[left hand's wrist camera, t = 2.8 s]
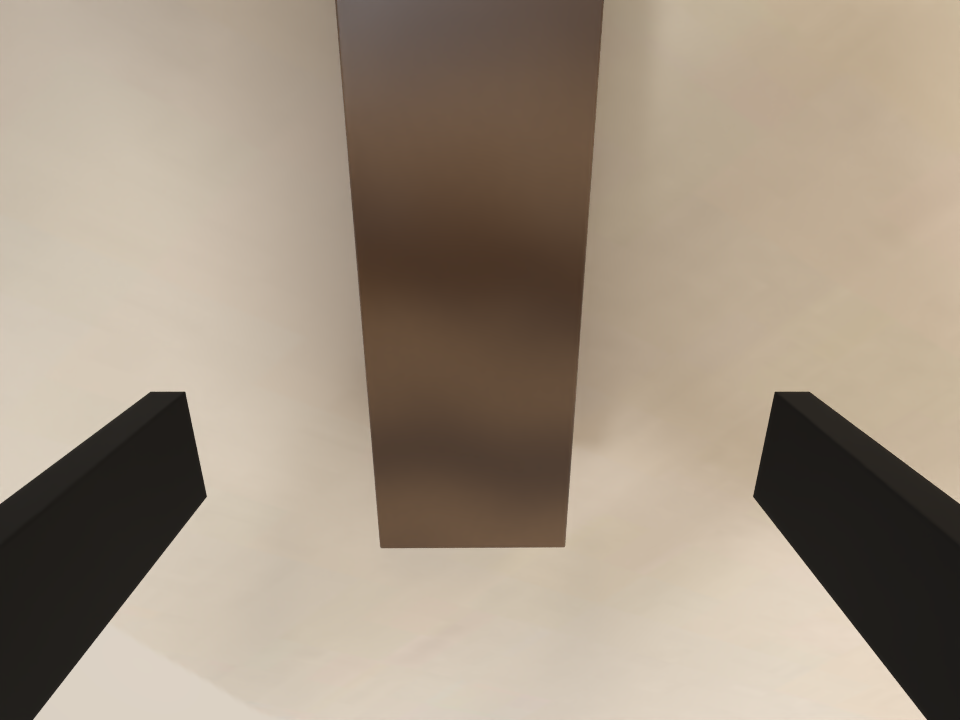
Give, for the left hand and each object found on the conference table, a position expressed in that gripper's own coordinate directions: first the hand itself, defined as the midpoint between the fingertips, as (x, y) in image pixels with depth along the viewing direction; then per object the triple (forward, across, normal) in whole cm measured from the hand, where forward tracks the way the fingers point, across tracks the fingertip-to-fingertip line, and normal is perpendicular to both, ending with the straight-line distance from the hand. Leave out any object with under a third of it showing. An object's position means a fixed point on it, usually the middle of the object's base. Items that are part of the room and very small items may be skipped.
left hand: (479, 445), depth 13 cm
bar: (+10, 0, -33) cm, 35 cm away
